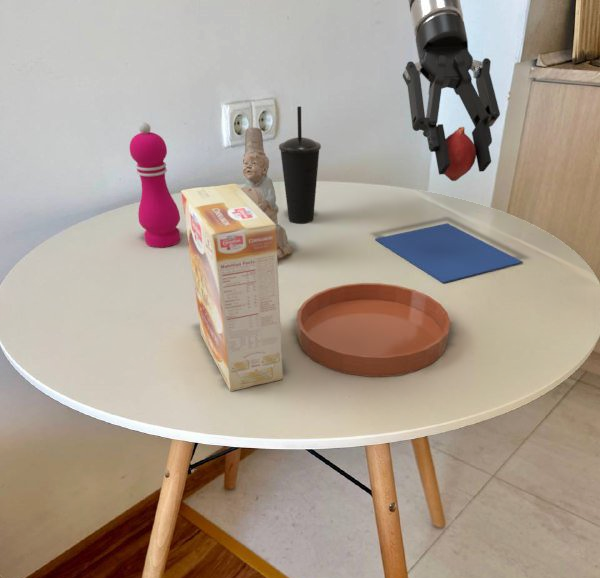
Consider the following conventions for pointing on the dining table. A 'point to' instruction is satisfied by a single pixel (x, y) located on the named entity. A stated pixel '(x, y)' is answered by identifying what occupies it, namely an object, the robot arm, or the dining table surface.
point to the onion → (459, 154)
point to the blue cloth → (447, 252)
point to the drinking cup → (300, 175)
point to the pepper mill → (154, 190)
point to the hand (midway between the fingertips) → (465, 167)
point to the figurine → (262, 185)
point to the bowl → (372, 329)
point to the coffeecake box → (235, 283)
